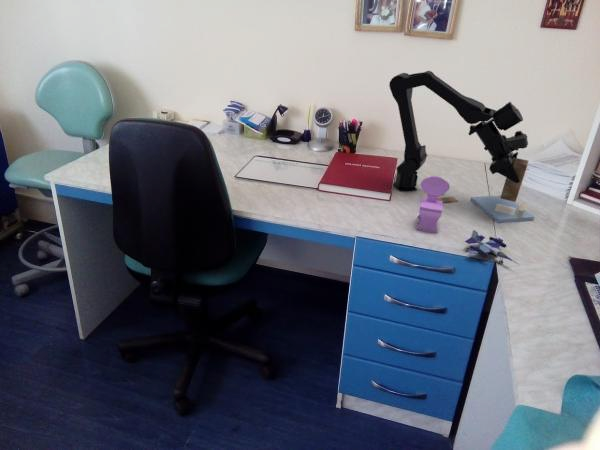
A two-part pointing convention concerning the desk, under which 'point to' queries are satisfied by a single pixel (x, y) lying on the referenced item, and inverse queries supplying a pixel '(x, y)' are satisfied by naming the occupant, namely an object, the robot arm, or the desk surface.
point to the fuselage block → (511, 187)
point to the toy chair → (431, 203)
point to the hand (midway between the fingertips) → (519, 179)
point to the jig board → (502, 209)
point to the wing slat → (447, 199)
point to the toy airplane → (487, 246)
